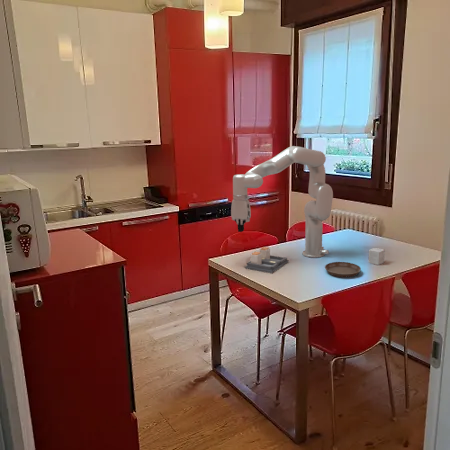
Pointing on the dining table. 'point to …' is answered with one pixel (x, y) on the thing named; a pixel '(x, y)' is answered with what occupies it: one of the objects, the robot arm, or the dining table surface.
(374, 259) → the product box
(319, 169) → the robot arm
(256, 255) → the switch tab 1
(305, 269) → the dining table surface
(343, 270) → the plant saucer
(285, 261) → the grey compartment tray
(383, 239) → the dining table surface
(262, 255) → the white orange-topped block
